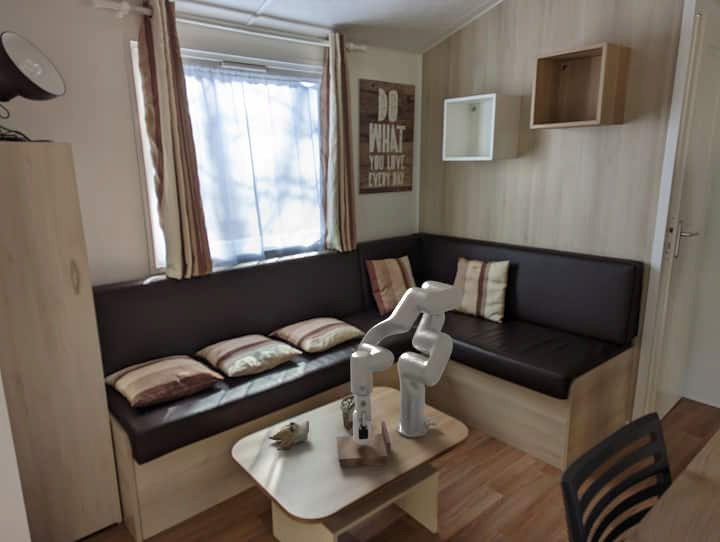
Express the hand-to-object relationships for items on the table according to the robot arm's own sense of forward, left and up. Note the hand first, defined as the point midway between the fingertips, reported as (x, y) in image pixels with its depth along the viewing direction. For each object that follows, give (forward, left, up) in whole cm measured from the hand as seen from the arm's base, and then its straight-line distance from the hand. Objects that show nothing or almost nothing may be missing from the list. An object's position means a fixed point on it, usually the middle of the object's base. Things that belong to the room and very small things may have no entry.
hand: (362, 432), depth 179 cm
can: (0, 0, -3) cm, 3 cm away
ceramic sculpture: (+26, -11, -10) cm, 30 cm away
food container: (+3, -23, -9) cm, 25 cm away
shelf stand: (0, 0, -9) cm, 9 cm away
